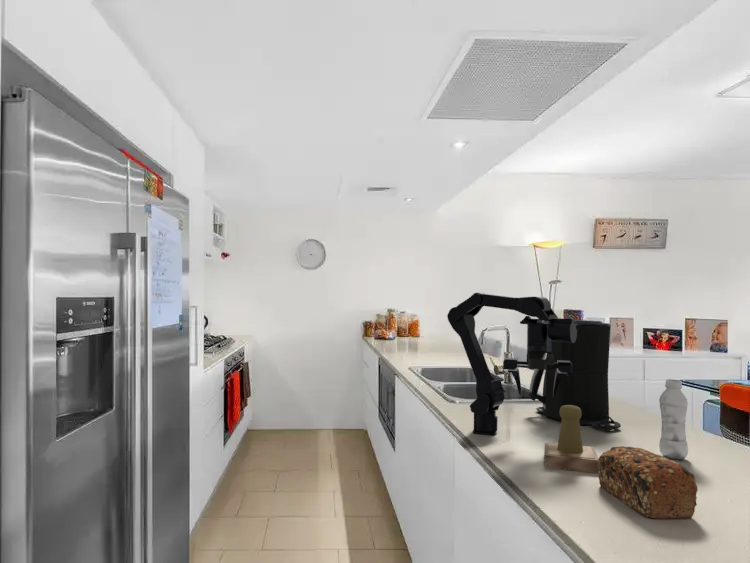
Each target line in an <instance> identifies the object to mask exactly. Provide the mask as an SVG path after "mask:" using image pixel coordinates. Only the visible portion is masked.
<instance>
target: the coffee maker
mask: <svg viewBox="0 0 750 563" xmlns="http://www.w3.org/2000/svg"><path fill="white" fill-rule="evenodd" d="M542 322H543V323H549V321H542ZM574 323H575V325H576V330H577V338H576V341H575V342H574V343H567V342H553V341H552V340H551V338H549V337H548V352H554V363H557V360H563V361H570V362H571V363H572V364H573V373H567V374H568V375H567V376H563V378H562V380H561V382H560V384H559V386H558V389H557V392H556V395H555V397H553V389H554V381H555V374H556V371H557V369H546V370H541V369H533V370H534V371H533V372H532V374H531V375H532V376H531V379H530V384H529V389H528V390H529V391H528V396H529V399H530V400H531V401H534V402H535V401H536V400H537V401H539V402H541V403H542V406H538V407H535V409H536V411H537V412H539V413H541V414H543V415H545V417H546V418H551V419H555V420H557V421H561V420H562V418H561V416H560V413H559V411H560V408H561V406H563V405H574V406H577V407H579V408H580V409H581V412H582V415H581V418H580V419H579V423H580V426H581V425H582V426H591V427H592V428H594V429H597V430H602V432H606V433H607V432H610V431H613V430H617V429H620V428H621V426H622V425H621V423H620V422H618V421H615V420H614V419H613V418H612V417H611V416H610V405H609V403H610V402H609V400H610V399H609V366H610V364H609V362H610V361H609V360H610V344H611V342H610V340H611V327H612V326H611V323H606V322H603V321H601V320H587V319H586V320H585V319H583V320H582V319H574ZM543 376H544V377H543ZM542 378H543V385H542V395H540V394H538V392H539V388H540V386H541V381H542Z"/></svg>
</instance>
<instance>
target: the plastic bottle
mask: <svg viewBox="0 0 750 563" xmlns="http://www.w3.org/2000/svg"><path fill="white" fill-rule="evenodd" d="M682 384H683V382H682V380H681V379H679V380H678V379H671V378H670V379H665V384H664V387H665V388H666V389H665V390H664V391H663V392H662V393H661V394H660V395H659V396H660V397H659V398H658V399H659V400H658V401H659V409H660V414H661V415H660V416H661V430H660V432H661V433H660V438H659V444H658V447H659V452H660V454H661V456H663V457H666V458H668V459H671V460H672V459H673V460H683V459H686V458H687V457H688V454H689V446H688V441H687V435H686V433H687V432H686V421H687V420H686V419H687V411H688V406H689V405H688V404H689V403H688V399H687V396H685V393H683V391H682V390H681V389H682V388H683V386H682Z"/></svg>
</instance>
